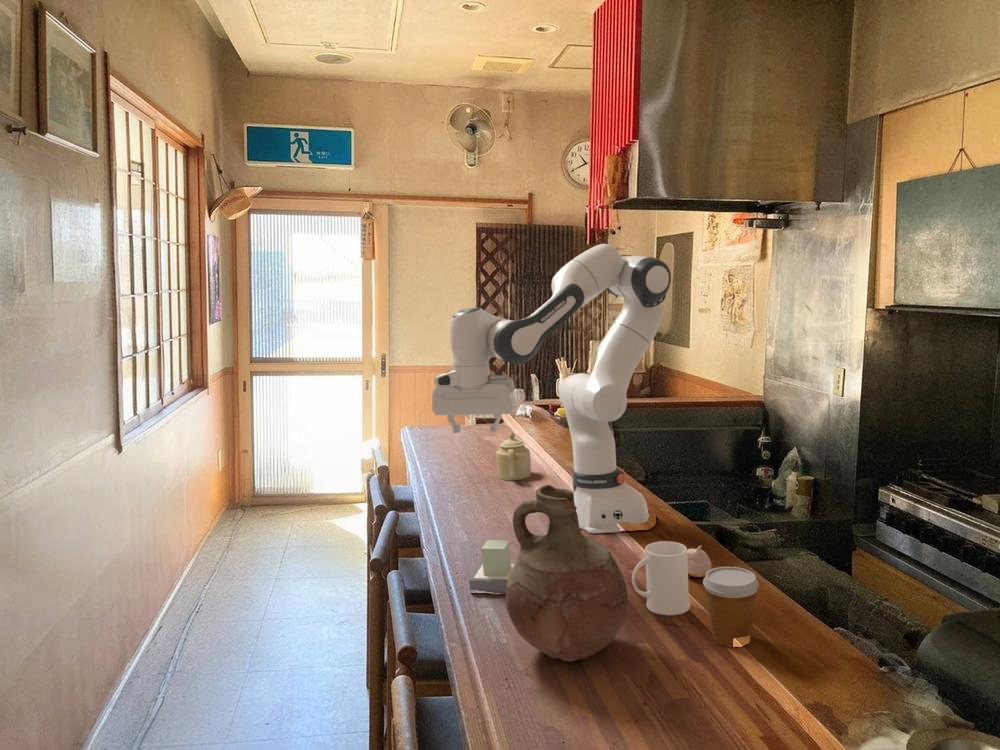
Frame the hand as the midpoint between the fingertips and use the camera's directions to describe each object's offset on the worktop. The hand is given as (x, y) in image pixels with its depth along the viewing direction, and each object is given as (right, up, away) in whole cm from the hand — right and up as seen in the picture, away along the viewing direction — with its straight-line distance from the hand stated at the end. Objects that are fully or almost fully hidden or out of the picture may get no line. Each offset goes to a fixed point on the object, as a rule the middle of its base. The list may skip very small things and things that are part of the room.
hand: (475, 432), depth 190 cm
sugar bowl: (+11, -20, +65) cm, 69 cm away
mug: (+38, -32, -35) cm, 61 cm away
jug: (+18, -36, -50) cm, 64 cm away
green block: (+5, -29, -20) cm, 35 cm away
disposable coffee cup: (+48, -34, -50) cm, 77 cm away
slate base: (+6, -32, -19) cm, 38 cm away
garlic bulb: (+48, -30, -21) cm, 60 cm away
